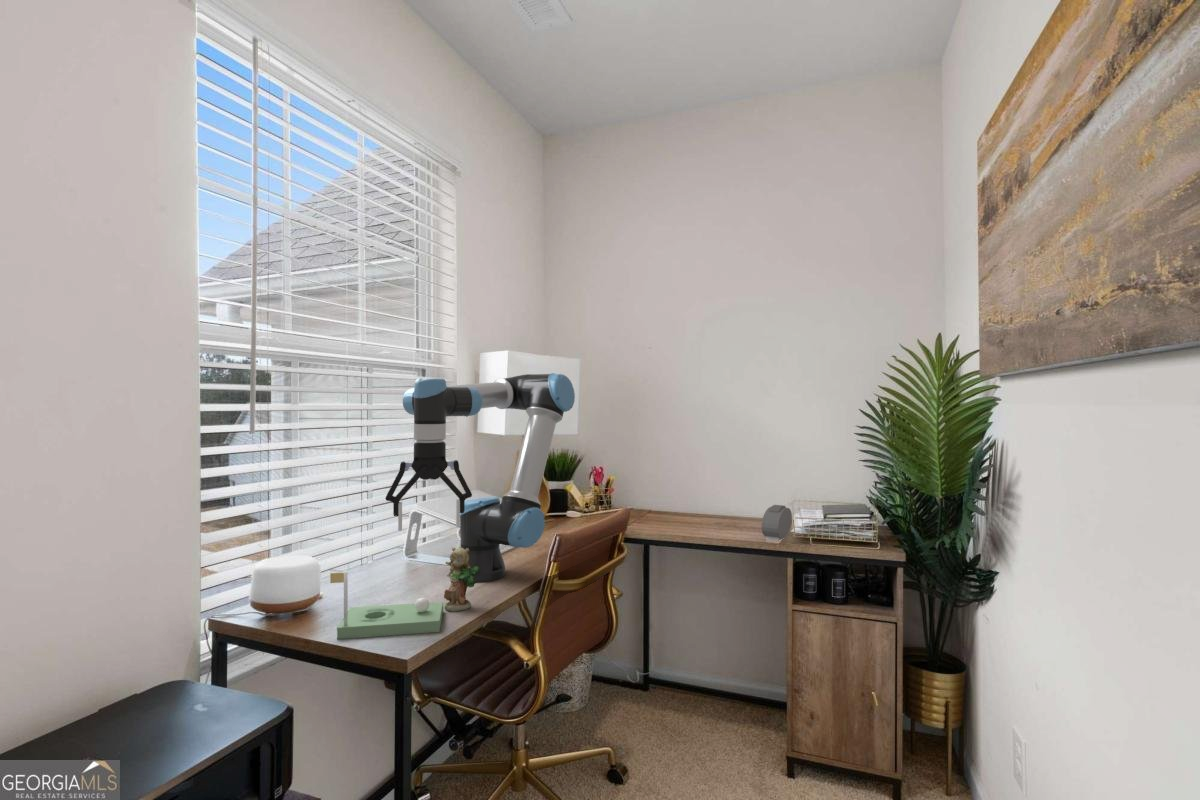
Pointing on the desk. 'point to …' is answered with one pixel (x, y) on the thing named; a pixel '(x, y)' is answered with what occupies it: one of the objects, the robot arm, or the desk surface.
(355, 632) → the green
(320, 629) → the desk surface
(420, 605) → the ball
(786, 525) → the alarm clock
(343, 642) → the desk surface
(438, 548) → the desk surface
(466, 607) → the figurine
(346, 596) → the flag
